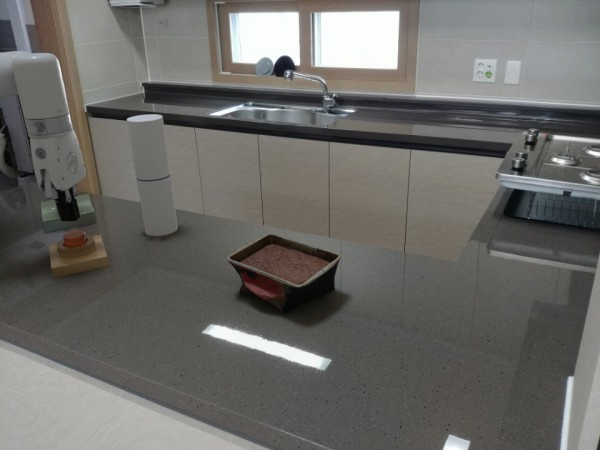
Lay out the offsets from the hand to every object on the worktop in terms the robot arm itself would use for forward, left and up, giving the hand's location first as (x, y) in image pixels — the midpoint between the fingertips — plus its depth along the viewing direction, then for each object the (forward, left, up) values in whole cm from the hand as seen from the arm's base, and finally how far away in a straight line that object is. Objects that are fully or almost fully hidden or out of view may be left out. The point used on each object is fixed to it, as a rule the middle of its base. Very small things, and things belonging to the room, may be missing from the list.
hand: (70, 219), depth 103 cm
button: (0, 0, -5) cm, 5 cm away
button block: (0, 0, -9) cm, 9 cm away
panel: (-13, +22, -9) cm, 27 cm away
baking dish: (+43, -12, -9) cm, 45 cm away
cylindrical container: (+12, +15, -9) cm, 21 cm away
